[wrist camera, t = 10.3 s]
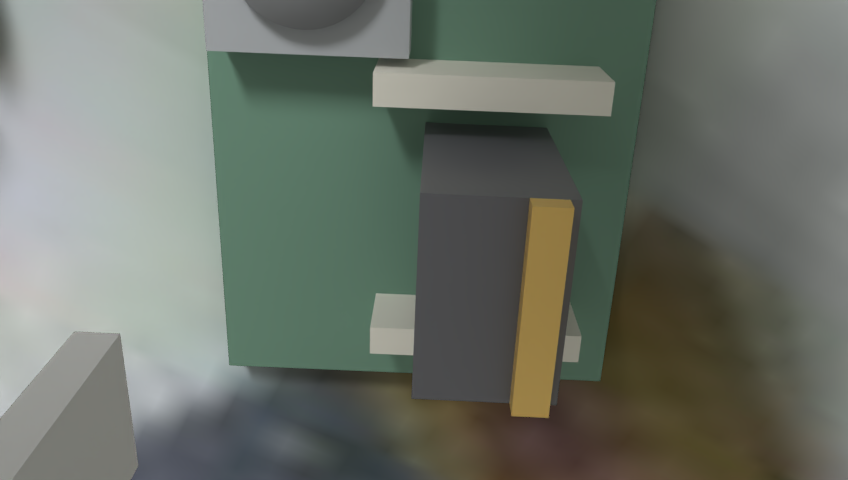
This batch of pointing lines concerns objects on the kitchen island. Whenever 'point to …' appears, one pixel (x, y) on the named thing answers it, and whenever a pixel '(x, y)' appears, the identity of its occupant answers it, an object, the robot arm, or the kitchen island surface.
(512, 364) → the plug
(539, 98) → the header board
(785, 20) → the kitchen island surface
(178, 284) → the kitchen island surface
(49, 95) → the kitchen island surface
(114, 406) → the robot arm
